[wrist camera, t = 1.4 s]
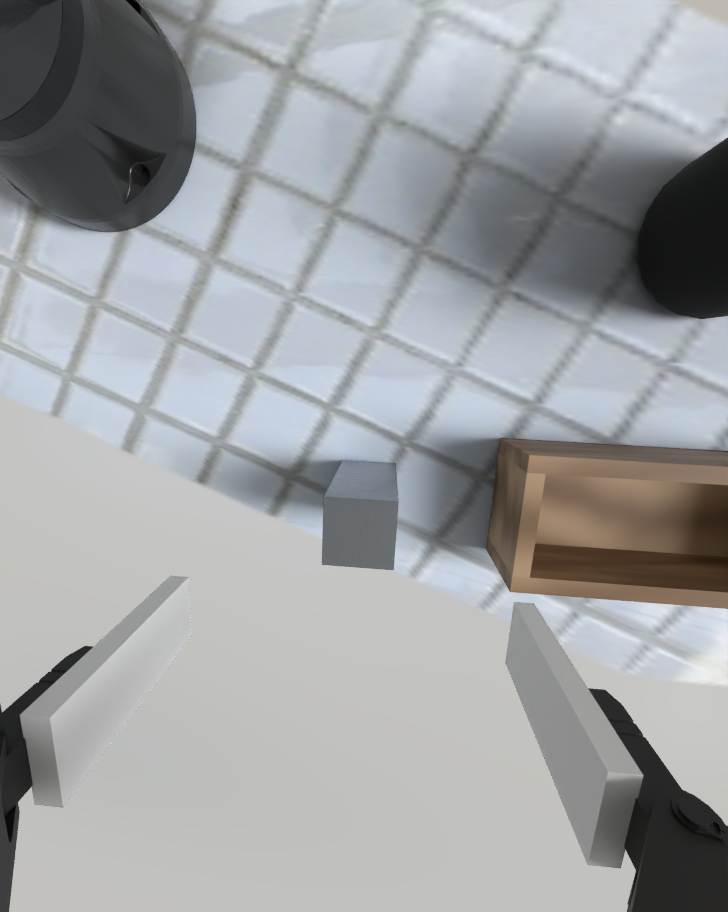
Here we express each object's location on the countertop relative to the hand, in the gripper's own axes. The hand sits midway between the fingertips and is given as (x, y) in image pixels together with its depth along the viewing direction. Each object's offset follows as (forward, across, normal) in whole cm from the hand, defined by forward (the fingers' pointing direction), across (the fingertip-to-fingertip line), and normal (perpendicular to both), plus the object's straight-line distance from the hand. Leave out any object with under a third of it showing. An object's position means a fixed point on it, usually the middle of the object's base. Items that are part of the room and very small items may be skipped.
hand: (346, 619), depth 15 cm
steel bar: (+18, 0, 0) cm, 18 cm away
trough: (+18, +21, 0) cm, 28 cm away
